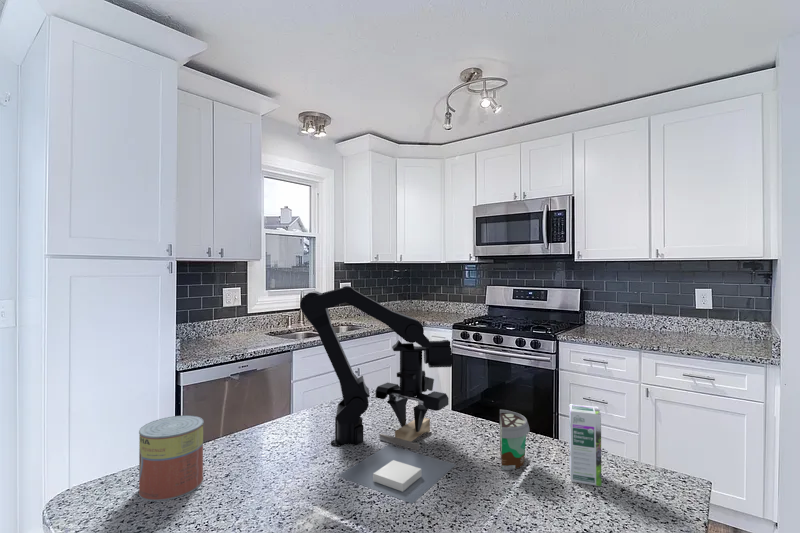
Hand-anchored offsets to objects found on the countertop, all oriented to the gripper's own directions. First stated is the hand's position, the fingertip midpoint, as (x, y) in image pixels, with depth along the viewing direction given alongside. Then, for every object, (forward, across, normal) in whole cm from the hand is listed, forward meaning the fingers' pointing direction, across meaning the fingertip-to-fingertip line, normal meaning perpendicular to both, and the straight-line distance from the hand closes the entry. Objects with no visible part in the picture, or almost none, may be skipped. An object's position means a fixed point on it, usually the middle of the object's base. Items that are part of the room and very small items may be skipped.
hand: (410, 429), depth 104 cm
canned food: (+3, +28, +45) cm, 53 cm away
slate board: (+3, -7, +16) cm, 18 cm away
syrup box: (+3, -40, -4) cm, 40 cm away
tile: (+1, -9, +16) cm, 18 cm away
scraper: (+3, 0, -1) cm, 3 cm away
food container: (+3, -26, -2) cm, 26 cm away
